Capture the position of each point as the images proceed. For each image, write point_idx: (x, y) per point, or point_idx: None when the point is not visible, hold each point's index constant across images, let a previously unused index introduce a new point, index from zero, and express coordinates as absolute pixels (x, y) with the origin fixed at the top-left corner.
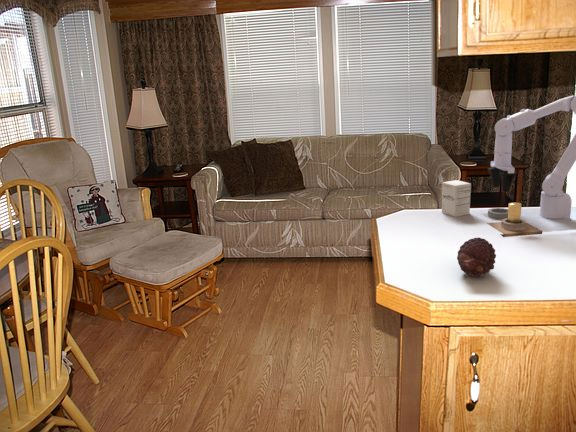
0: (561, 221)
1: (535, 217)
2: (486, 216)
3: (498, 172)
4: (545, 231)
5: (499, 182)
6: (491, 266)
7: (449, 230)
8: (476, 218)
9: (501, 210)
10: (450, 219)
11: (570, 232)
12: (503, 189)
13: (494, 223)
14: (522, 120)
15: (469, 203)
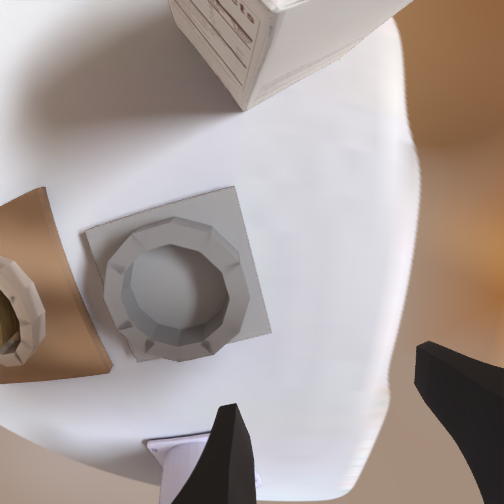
0: None
1: None
2: (167, 206)
3: (491, 463)
4: (31, 398)
5: (433, 408)
6: None
7: (5, 27)
8: (188, 147)
9: (223, 314)
10: None
11: (50, 449)
12: (215, 421)
13: (34, 230)
14: None
15: (242, 87)
